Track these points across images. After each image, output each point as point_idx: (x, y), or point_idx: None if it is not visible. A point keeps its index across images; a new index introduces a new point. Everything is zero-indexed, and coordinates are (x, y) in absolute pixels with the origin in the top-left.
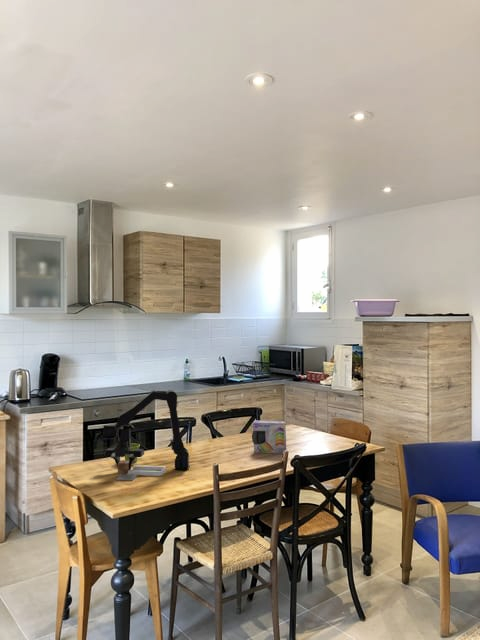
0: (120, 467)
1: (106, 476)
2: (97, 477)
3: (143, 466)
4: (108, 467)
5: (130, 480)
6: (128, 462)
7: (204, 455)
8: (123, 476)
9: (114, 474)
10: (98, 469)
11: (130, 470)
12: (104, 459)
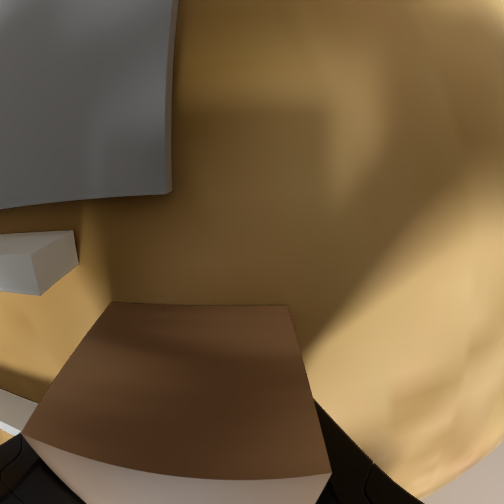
0: (235, 383)
1: (426, 116)
2: (501, 89)
3: (20, 429)
4: (419, 442)
5: (2, 1)
6: (64, 480)
7: None
8: (81, 57)
9: (330, 237)
10: (495, 377)
11: (10, 280)
12: (421, 498)
